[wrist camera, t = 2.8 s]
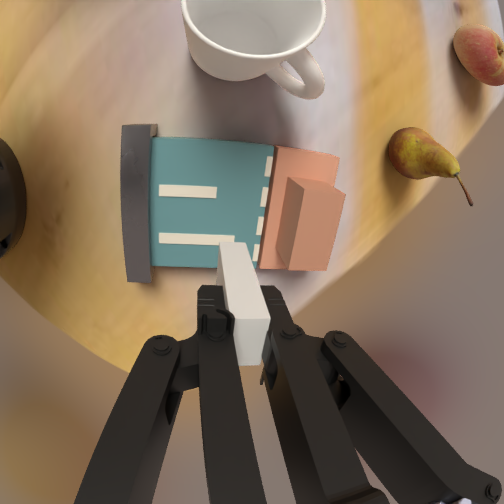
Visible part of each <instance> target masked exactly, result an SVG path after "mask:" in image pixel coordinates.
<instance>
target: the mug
mask: <svg viewBox="0 0 504 504" xmlns="http://www.w3.org/2000/svg"><path fill="white" fill-rule="evenodd" d="M181 9H182V15H183V21H184V26H185V32H186V37H187V42H188V48H189V51H190V54H191V56H192V58H193V60H194V61H195V63H196V64H197V65H198V66H199V67H200V68H201V69H202V70H203V71H205V72H206V73H208V74H209V75H211V76H214V77H216V78H219V79H222V80H227V81H245V80H249V79H253V78H256V77H258V76H261V75H263V74H264V73H265V74H267V75H268V76H269V77H270V78H271V79H272V80H273V81H274V82H275V83H277V84H278V85H279V86H280V87H282V88H283V89H284V90H286V91H287V92H289V93H291V94H293V95H295V96H297V97H299V98H303V99H315V98H317V97H319V96H320V95H321V94H322V93H323V91H324V86H325V81H324V77H323V74H322V71H321V69H320V67H319V65H318V64H317V62H316V60H315V59H314V58H313V56H312V55H311V54H310V52H309V51H308V50H307V49H306V47H307V46H309V45H310V44H311V43H312V42H313V41H314V40H315V39H316V38H317V37H318V36H319V34H320V33H321V31H322V29H323V26H324V23H325V19H326V4H325V0H181ZM283 61H287V62H288V63H289V64H290V65H291V66H292V67H293V68H294V69H295V70H296V71H297V73H298V74H299V75H300V76H301V78H302V79H303V81H304V83H302V82H300V81H298V80H297V79H295V78H294V77H292V76H291V75H290V74H289V73H288V72H287V71H286V70H285V69H284V68H283V67H282V66H281V65H280V63H282V62H283Z"/></svg>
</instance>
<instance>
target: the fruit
mask: <svg viewBox="0 0 504 504" xmlns="http://www.w3.org/2000/svg"><path fill="white" fill-rule="evenodd" d="M389 157H390V160H391V162H392V164H393V166H394V167H395V169H396V170H397V171H398V172H399V173H401V174H402V175H403V176H405V177H408V178H411V179H423V178H427V177H431V176H440V177H446V178H447V177H451V178H454V177H457V179H458V180H459V182H460V184H461V186H462V188H463V190H464V192H465V194H466V197H467V199H468V202H469V205H470V206H472V205H473V202H472V200H471V198H470V196H469V194H468V192H467V190H466V189H465V187H464V185H463V183H462V181H461V179H460V177H459V172H460V167H459V164H458V162H457V160H456V159H455V157H454V156H453V155H452V154H451V153H450V152H449V151H447V150H446V149H445V148H444V147H443V146H441V145H440V144H439V143H437V142H436V141H435V140H434V139H433V138H432V136H431V135H429V134H428V133H427V132H425V131H423V130H421V129H419V128H414V127H409V128H403V129H400V130H398V131H396V132H395V133H394V134H393V135H392V137H391V140H390V142H389Z"/></svg>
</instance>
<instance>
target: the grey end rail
mask: <svg viewBox="0 0 504 504" xmlns="http://www.w3.org/2000/svg"><path fill="white" fill-rule="evenodd" d="M156 134H157V124H130V125H122V136H121V170H120V181H121V216H122V232H123V245H124V256H125V265H126V274H127V282H141V283H151V281H152V277H153V273H154V269H155V266H152V256H151V229H150V179H151V153H152V137H153V136H154V135H156Z"/></svg>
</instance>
